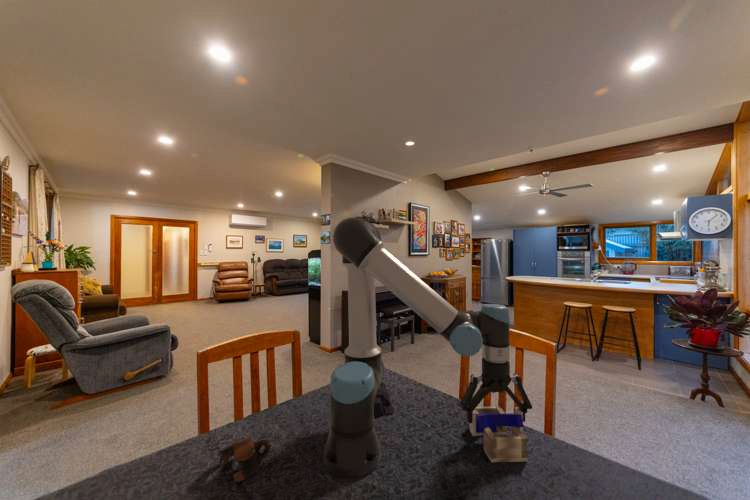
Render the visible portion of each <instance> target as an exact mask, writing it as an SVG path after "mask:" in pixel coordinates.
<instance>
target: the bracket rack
mask: <svg viewBox="0 0 750 500" xmlns="http://www.w3.org/2000/svg"><path fill="white" fill-rule="evenodd" d="M474 411H475V413H476V414H507V412H505V411H504V409H503V408H501V406H477V407H476V408H475V409H474ZM496 429H497V432H492V431H491V430H490V428H484V433H477V432H476V436H475V437H483V450H484V452H485V454H486V456H487V458H488V460H489V461H490V462H491V463H521V462H526V463H527V462H528V437H526V435H525V434H524V433H522V432H521V431H520V430H519V428H518V427H513V426H511V435H510V436H508V426H496Z"/></svg>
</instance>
